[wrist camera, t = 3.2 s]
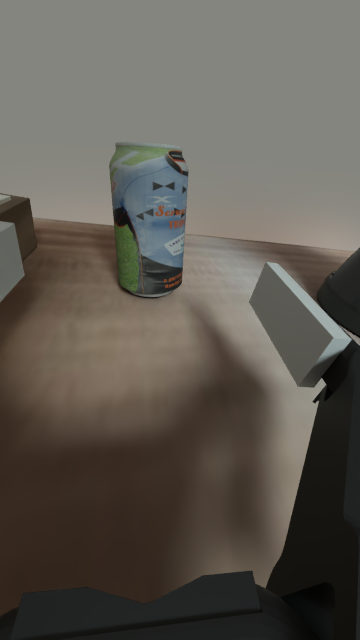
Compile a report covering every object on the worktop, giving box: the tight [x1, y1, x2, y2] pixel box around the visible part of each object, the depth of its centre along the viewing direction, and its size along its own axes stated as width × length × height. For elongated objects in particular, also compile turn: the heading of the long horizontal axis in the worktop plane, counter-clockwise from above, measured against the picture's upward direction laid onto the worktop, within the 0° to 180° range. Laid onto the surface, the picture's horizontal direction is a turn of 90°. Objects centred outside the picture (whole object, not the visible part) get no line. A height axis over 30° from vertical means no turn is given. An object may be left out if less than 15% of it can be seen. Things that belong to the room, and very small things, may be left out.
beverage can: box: [109, 142, 188, 297], centre depth 21 cm, size 6×7×12 cm
